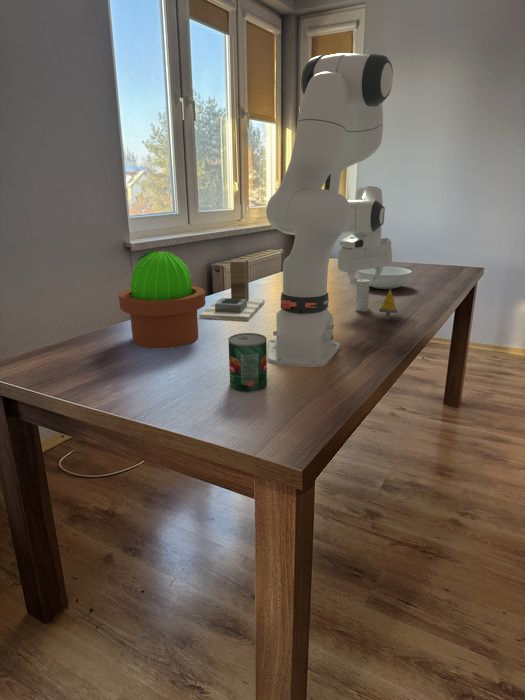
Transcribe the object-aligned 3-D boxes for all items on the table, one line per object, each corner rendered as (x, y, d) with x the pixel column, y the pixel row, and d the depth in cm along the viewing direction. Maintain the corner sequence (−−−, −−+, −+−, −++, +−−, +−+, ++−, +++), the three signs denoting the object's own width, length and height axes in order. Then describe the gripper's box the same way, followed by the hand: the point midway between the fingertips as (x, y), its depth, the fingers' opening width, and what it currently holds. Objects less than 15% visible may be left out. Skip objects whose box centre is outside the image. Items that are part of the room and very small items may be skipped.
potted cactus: (222, 339, 133) (218, 248, 125) (154, 360, 118) (145, 257, 110) (175, 324, 148) (169, 241, 139) (109, 341, 133) (98, 249, 125)
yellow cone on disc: (377, 321, 147) (380, 288, 145) (379, 320, 152) (382, 288, 150) (395, 322, 145) (398, 289, 144) (396, 321, 150) (400, 289, 149)
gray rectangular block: (367, 311, 160) (369, 281, 156) (355, 311, 161) (357, 281, 157) (367, 308, 163) (369, 279, 160) (355, 308, 164) (357, 279, 161)
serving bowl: (407, 282, 204) (408, 266, 202) (413, 293, 185) (414, 275, 183) (357, 281, 208) (358, 265, 206) (357, 291, 188) (358, 274, 186)
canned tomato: (274, 389, 101) (274, 339, 97) (243, 399, 97) (241, 347, 93) (253, 377, 107) (252, 330, 104) (222, 386, 103) (220, 337, 99)
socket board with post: (248, 321, 150) (247, 272, 144) (199, 319, 153) (196, 270, 148) (264, 303, 172) (264, 259, 167) (221, 301, 175) (219, 258, 170)
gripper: (384, 236, 162) (381, 277, 166) (335, 241, 152) (334, 284, 157) (398, 238, 157) (395, 280, 161) (348, 243, 147) (346, 288, 152)
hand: (364, 282), depth 159 cm, fingers open, 8 cm apart
